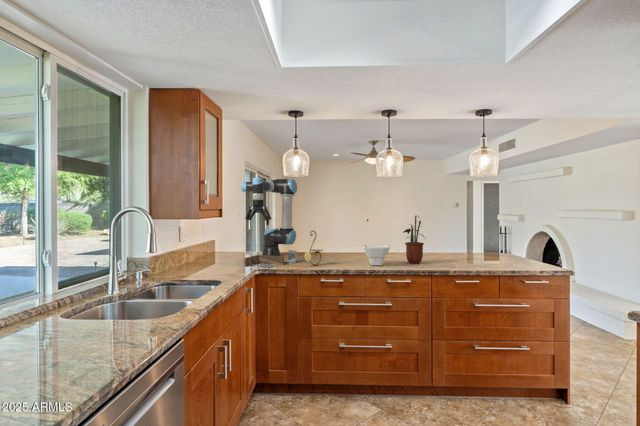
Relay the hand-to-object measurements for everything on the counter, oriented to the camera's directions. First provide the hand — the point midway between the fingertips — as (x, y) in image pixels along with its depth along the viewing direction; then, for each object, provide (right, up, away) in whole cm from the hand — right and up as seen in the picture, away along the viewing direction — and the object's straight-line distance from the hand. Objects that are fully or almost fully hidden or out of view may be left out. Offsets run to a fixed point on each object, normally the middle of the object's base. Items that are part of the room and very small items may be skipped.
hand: (258, 229), depth 272 cm
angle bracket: (+21, -25, +12) cm, 35 cm away
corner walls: (+4, -26, +1) cm, 26 cm away
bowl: (+84, -26, 0) cm, 87 cm away
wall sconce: (+40, -26, +2) cm, 48 cm away
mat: (+5, -26, -2) cm, 26 cm away
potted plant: (+113, -25, +7) cm, 116 cm away
